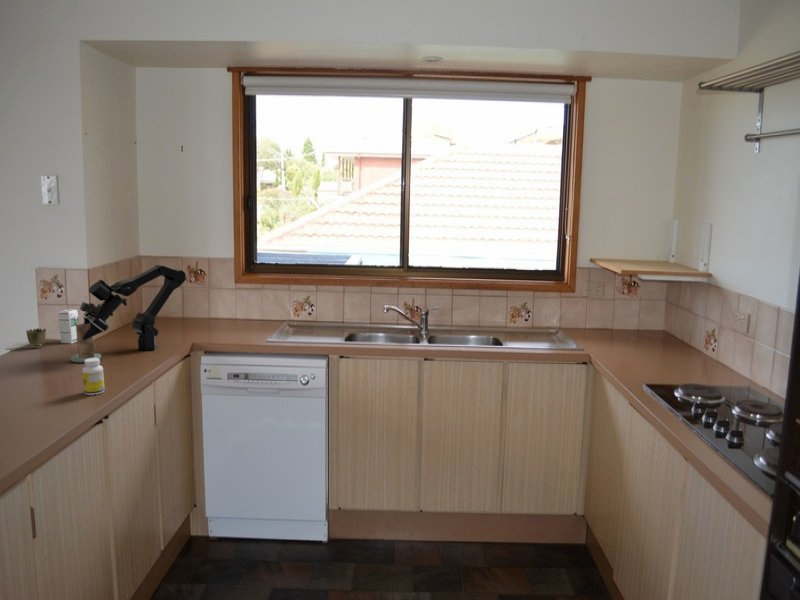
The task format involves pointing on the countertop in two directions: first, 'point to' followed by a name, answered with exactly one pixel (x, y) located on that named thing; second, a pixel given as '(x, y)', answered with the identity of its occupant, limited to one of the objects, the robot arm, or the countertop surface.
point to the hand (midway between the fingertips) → (81, 337)
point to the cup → (36, 337)
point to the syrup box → (68, 325)
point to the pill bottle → (93, 377)
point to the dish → (77, 358)
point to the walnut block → (84, 342)
